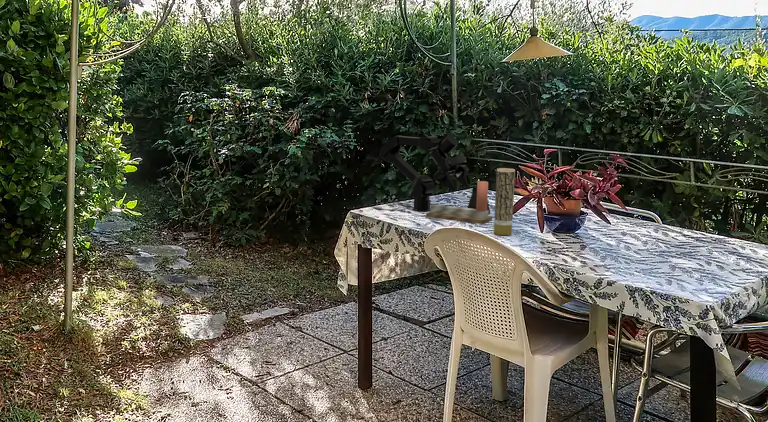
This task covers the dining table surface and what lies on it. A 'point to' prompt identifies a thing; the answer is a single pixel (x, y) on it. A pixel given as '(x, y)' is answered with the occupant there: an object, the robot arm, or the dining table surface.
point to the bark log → (504, 201)
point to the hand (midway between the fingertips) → (461, 188)
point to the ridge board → (458, 218)
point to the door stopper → (475, 200)
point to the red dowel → (482, 196)
